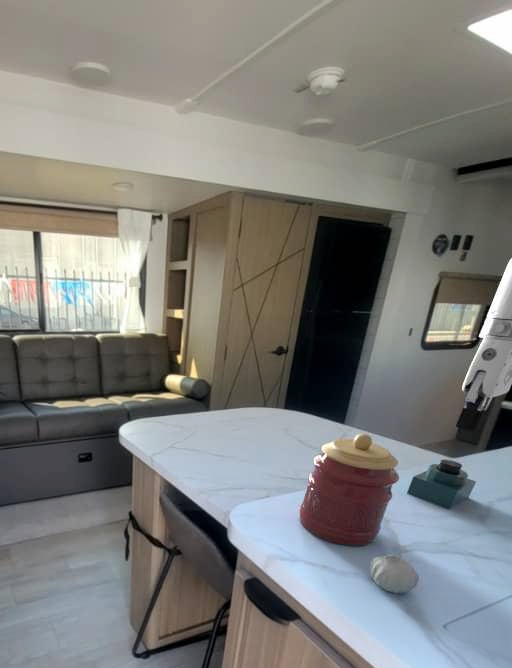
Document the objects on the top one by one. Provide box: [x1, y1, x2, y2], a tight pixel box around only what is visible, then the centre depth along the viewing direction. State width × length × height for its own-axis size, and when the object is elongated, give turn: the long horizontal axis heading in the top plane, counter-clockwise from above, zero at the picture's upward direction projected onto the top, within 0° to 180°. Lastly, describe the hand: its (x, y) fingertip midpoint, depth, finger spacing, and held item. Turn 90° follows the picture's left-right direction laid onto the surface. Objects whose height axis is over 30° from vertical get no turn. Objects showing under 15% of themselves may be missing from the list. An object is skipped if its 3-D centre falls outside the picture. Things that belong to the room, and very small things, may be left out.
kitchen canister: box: [299, 433, 400, 547], centre depth 69 cm, size 13×13×18 cm
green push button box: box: [406, 463, 477, 510], centre depth 85 cm, size 10×8×6 cm
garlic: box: [369, 554, 420, 594], centre depth 57 cm, size 6×5×5 cm
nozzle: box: [438, 459, 463, 475], centre depth 84 cm, size 4×4×2 cm
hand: (466, 428), depth 80 cm, fingers closed
